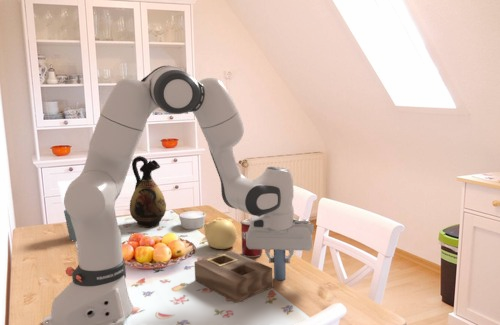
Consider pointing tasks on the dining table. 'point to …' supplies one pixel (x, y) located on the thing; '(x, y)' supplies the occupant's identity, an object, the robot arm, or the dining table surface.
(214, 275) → the socket block
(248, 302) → the dining table surface
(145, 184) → the ceramic jug
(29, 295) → the dining table surface
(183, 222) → the ramekin
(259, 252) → the soda can
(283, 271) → the peg
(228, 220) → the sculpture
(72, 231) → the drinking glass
